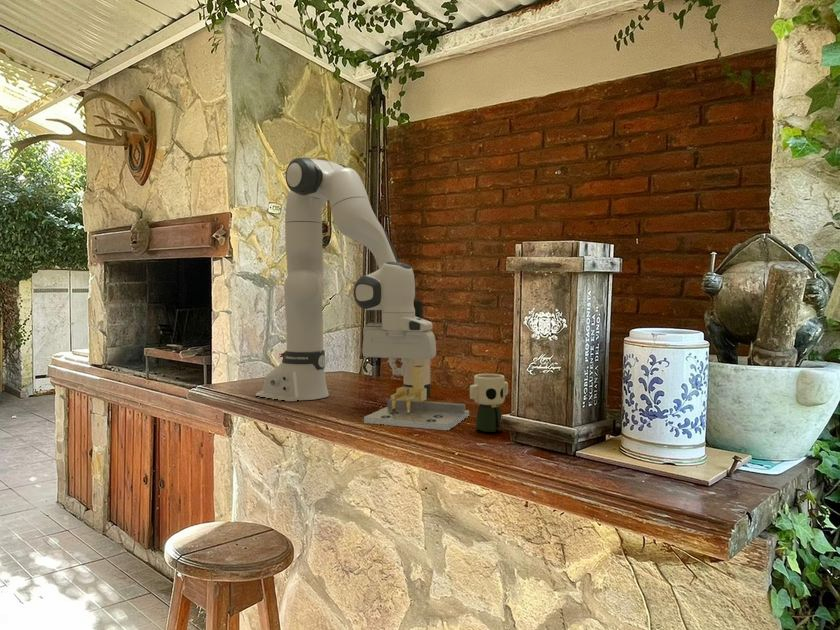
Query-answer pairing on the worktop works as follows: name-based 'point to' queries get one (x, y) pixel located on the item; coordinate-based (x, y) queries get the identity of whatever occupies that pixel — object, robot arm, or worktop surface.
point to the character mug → (489, 400)
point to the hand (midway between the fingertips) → (398, 375)
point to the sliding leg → (417, 388)
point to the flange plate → (418, 413)
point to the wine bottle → (414, 362)
